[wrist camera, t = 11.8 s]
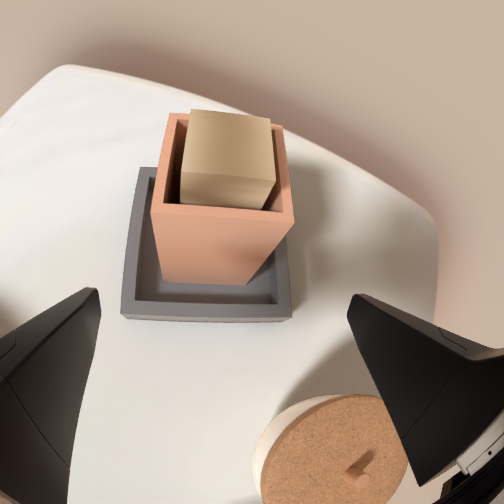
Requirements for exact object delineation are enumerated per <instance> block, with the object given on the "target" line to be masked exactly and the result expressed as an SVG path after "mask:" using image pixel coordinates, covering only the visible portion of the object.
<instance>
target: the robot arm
mask: <svg viewBox="0 0 504 504" xmlns="http://www.w3.org/2000/svg"><path fill="white" fill-rule="evenodd" d="M100 318H101V307H100V300H99V294H98V290H97V289H96V288H89V287H85V288H83V289H82V290H80V291H78V292H76V293H75V294H73V295H71V296H69V297H68V298H66V299H64V300H63V301H61V302H59V303H57V304H56V305H54V306H52V307H51V308H49V309H47V310H46V311H44V312H42V313H41V314H39V315H37V316H36V317H34V318H32V319H31V320H29V321H27V322H26V323H24V324H22V325H21V326H19V327H18V328H16V329H15V330H13V331H11V332H10V333H8V334H6V335H5V336H3V337H2V338H0V504H67V496H68V484H69V475H70V465H71V458H72V451H73V445H74V439H75V433H76V428H77V423H78V418H79V413H80V408H81V404H82V399H83V395H84V391H85V386H86V382H87V379H88V375H89V371H90V367H91V364H92V360H93V356H94V351H95V346H96V340H97V334H98V329H99V323H100ZM347 319H348V322H349V324H350V327H351V330H352V332H353V335H354V338H355V340H356V343H357V346H358V348H359V351H360V353H361V355H362V357H363V359H364V361H365V363H366V365H367V368H368V370H369V372H370V374H371V376H372V378H373V380H374V382H375V385H376V387H377V389H378V391H379V393H380V395H381V398H382V400H383V402H384V404H385V406H386V409H387V411H388V413H389V415H390V418H391V420H392V422H393V424H394V427H395V429H396V431H397V434H398V436H399V438H400V440H401V444H402V446H403V448H404V451H405V453H406V456H407V458H408V461H409V463H410V466H411V468H412V470H413V473H414V476H415V478H416V481H417V483H418V485H419V487H421V486H423V485H425V484H426V483H428V482H430V481H431V480H433V479H435V478H436V477H438V476H440V475H441V474H443V473H444V472H446V471H447V470H449V469H450V468H452V467H453V466H455V465H456V464H457V465H458V466H459V468H460V469H461V471H460V472H458V473H457V474H456V475H454V476H453V477H452V478H450V479H449V480H448V481H446V482H445V483H444V484H443V488H442V492H441V497H440V499H439V500H437V501H436V502H434V503H433V504H504V348H501V349H494V348H489V347H487V346H484V345H481V344H479V343H476V342H474V341H471V340H469V339H466V338H463V337H461V336H459V335H456V334H454V333H451V332H449V331H447V330H445V329H442V328H440V327H437V326H435V325H433V324H431V323H429V322H427V321H424V320H422V319H420V318H418V317H415V316H413V315H411V314H409V313H406V312H404V311H402V310H400V309H397V308H395V307H393V306H391V305H388V304H386V303H384V302H382V301H379V300H377V299H375V298H373V297H370V296H368V295H366V294H355V295H354V296H353V297H352V300H351V303H350V306H349V309H348V311H347Z"/></svg>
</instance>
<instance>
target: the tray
mask: <svg viewBox="0 0 504 504" xmlns="http://www.w3.org/2000/svg"><path fill="white" fill-rule="evenodd" d="M157 170H158V168H156V167H140V170H139V175H138V180H137V185H136V190H135V195H134V201H133V206H132V212H131V218H130V224H129V231H128V238H127V246H126V254H125V262H124V272H123V282H122V295H121V309H120V314H122V315H123V316H124V317H125V318H127V319H140V320H158V321H180V322H224V323H253V322H282V321H285V320H287V319H289V318H291V317H292V310H291V296H290V283H289V271H288V259H287V248H286V237H285V236H284V237H283V239H282V240H281V241H280V242H279V244H278V245H277V246H276V247H275V249H274V250H273V251H272V252H271V254H270V255H269V256H268V258H267V259H266V260H265V261H264V263H263V264H262V265H261V266H260V268H259V269H258V270H257V271H256V273H255V274H254V275H253V276H252V278H251V279H250V280H249V281H248V283H247V284H246V285H220V284H197V283H177V282H164V280H163V276H162V271H161V266H160V262H159V257H158V252H157V247H156V242H155V236H154V231H153V225H152V220H151V214H150V212H151V205H152V199H153V192H154V186H155V181H156V175H157Z"/></svg>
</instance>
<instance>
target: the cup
mask: <svg viewBox="0 0 504 504" xmlns="http://www.w3.org/2000/svg"><path fill="white" fill-rule="evenodd" d="M189 118H190V114H181V113H170V114H169V118H168V122H167V127H166V131H165V136H164V140H163V145H162V149H161V154H160V159H159V164H158V170H157V175H156V181H155V186H154V192H153V199H152V205H151V212H150V214H151V220H152V225H153V231H154V236H155V242H156V247H157V252H158V257H159V262H160V266H161V271H162V276H163V280H164V282H177V283H197V284H220V285H246V284H247V283H248V281H249V280H250V279H251V278H252V276H253V275H254V274H255V273H256V271H257V270H258V269H259V268H260V266H261V265H262V264H263V263H264V261H265V260H266V259H267V258H268V256H269V255H270V254H271V252H272V251H273V250H274V249H275V247H276V246H277V245H278V244H279V242H280V241H281V240H282V239H283V237H284V236H285V235H286V234H287V232H288V231H289V230H290V228H291V227H292V226H293V225H294V214H293V205H292V196H291V188H290V180H289V172H288V164H287V156H286V149H285V142H284V135H283V128H282V126H281V125H275V124H271V133H272V143H273V153H274V164H275V175H276V182H275V184H274V186H273V187H272V189H271V191H270V193H269V195H268V197H267V199H266V201H265V203H264V205H263V207H262V209H261V210H260V211H259V210H248V209H236V208H224V207H211V206H197V205H181V204H180V187H181V169H182V161H183V155H184V148H185V141H186V135H187V129H188V123H189Z"/></svg>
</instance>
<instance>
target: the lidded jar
mask: <svg viewBox="0 0 504 504" xmlns="http://www.w3.org/2000/svg"><path fill="white" fill-rule="evenodd" d="M407 465H408V458H407V456H406V453H405V451H404V448H403V446H402V444H401V440H400V438H399V436H398V434H397V431H396V429H395V427H394V424H393V422H392V420H391V418H390V415H389V413H388V411H387V409H386V406H385V404H384V402H383V400H382V399H381V398H378V397H375V396H370V395H359V394H354V395H325V396H319V397H314V398H310V399H307V400H304V401H301V402H298V403H296V404H294V405H292V406H290V407H288V408H287V409H286V410H284V411H283V412H281V413H280V414H279V415H278V416H276V417H275V418H274V419H273V420H272V421H271V422H270V423H269V425H268V426H267V427H266V428H265V430H264V431H263V433H262V434H261V436H260V438H259V440H258V442H257V444H256V447H255V451H254V455H253V477H254V481H255V484H256V487H257V490H258V493H259V494H260V496H261V498H262V500H263V503H264V504H385V503H386V502H387V501H388V500H389V499H390V498H391V496H392V495H393V494H394V492H395V491H396V489H397V488H398V486H399V484H400V483H401V481H402V478H403V476H404V474H405V471H406V468H407Z"/></svg>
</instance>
